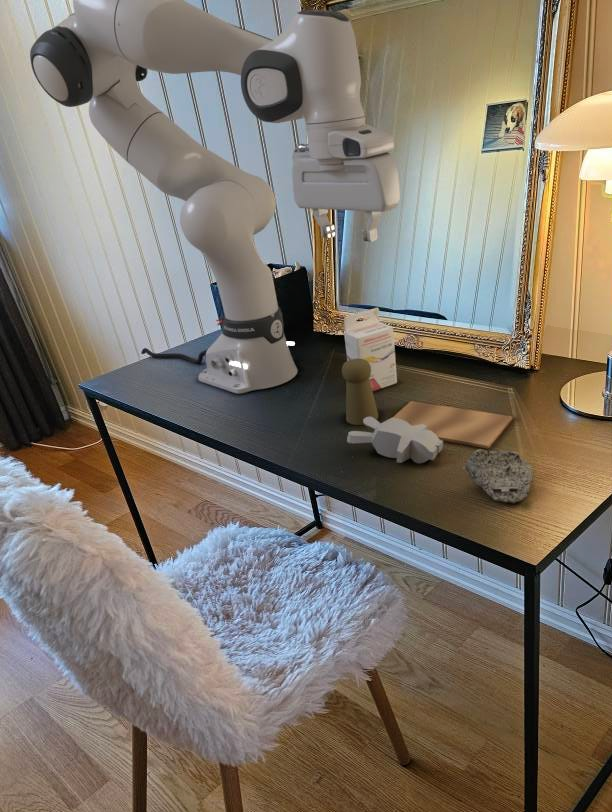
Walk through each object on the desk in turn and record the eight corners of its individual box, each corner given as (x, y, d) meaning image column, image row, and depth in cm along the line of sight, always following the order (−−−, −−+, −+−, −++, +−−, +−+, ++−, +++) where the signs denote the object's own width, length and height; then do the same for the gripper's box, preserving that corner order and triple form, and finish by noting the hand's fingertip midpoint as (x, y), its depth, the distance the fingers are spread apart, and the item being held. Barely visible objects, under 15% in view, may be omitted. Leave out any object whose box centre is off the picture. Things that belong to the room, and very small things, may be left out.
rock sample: (488, 495, 88) (489, 434, 90) (459, 507, 94) (460, 450, 97) (551, 507, 91) (550, 448, 94) (519, 517, 98) (518, 462, 101)
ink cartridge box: (363, 396, 128) (354, 323, 120) (350, 388, 132) (340, 317, 123) (398, 382, 131) (392, 311, 123) (385, 376, 135) (378, 305, 127)
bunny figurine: (425, 452, 99) (341, 427, 105) (424, 479, 102) (342, 454, 108) (450, 424, 105) (370, 402, 111) (448, 450, 109) (370, 428, 114)
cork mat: (382, 429, 115) (382, 426, 115) (411, 403, 123) (410, 400, 122) (488, 448, 106) (488, 445, 105) (512, 419, 113) (512, 416, 113)
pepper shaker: (375, 425, 117) (368, 367, 111) (342, 425, 118) (334, 368, 112) (381, 409, 122) (375, 354, 116) (349, 410, 123) (342, 355, 117)
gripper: (276, 147, 102) (292, 239, 110) (373, 143, 90) (383, 247, 97) (305, 141, 106) (318, 231, 113) (402, 136, 93) (409, 238, 101)
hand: (349, 239), depth 105 cm, fingers open, 8 cm apart
